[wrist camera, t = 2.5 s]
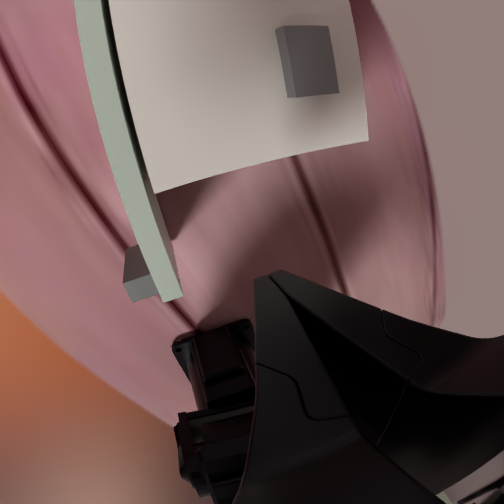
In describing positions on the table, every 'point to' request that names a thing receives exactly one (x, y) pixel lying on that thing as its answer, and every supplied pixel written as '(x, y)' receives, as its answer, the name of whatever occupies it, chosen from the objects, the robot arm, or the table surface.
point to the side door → (126, 158)
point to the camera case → (237, 82)
